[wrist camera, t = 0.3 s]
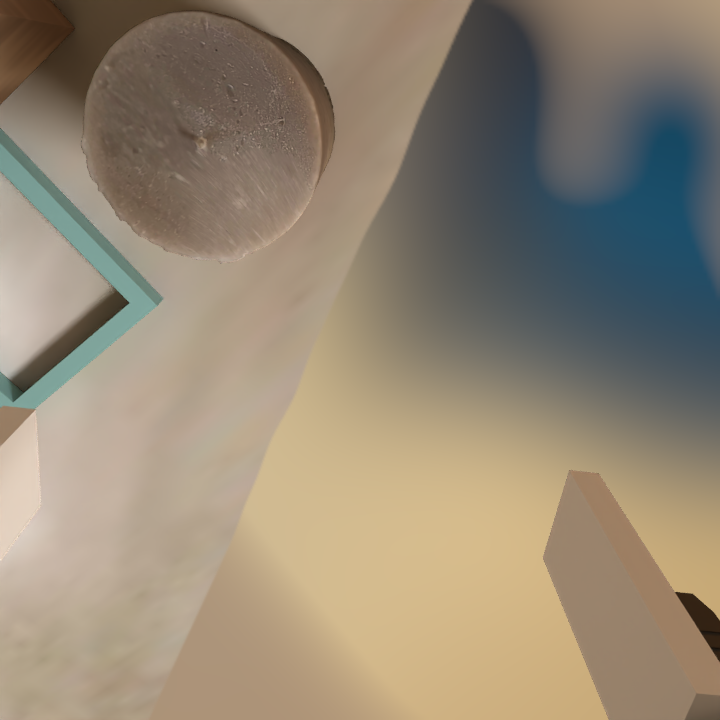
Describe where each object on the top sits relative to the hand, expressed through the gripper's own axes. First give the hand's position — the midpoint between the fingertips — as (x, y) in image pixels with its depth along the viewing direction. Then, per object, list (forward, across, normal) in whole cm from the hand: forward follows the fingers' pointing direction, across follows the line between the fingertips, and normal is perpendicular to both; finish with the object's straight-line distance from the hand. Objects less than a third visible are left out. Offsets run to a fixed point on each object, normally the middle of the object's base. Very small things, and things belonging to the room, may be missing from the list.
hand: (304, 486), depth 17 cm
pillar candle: (+28, -6, +6) cm, 29 cm away
